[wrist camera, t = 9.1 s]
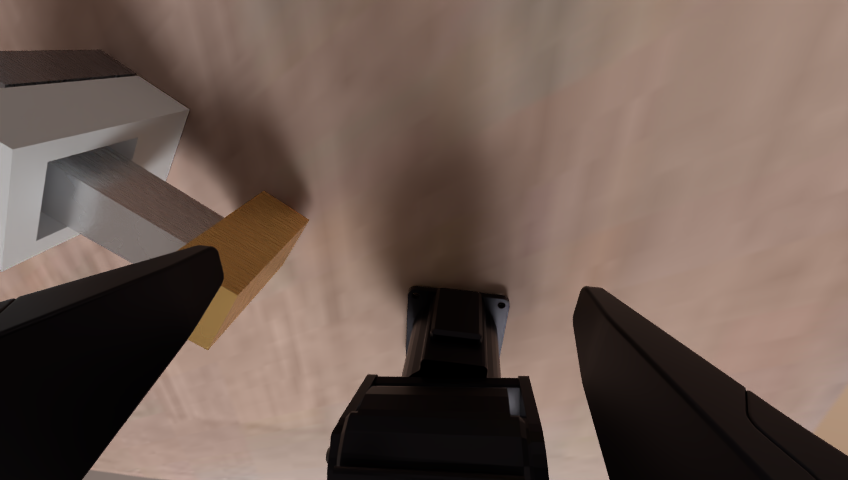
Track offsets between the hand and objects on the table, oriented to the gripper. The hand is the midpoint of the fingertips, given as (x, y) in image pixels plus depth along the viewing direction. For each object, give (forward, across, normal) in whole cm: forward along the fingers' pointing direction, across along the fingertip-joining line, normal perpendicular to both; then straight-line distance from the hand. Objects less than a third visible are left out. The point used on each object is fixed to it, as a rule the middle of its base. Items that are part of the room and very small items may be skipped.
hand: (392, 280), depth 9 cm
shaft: (+12, +13, +3) cm, 18 cm away
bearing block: (+12, +17, +1) cm, 21 cm away
